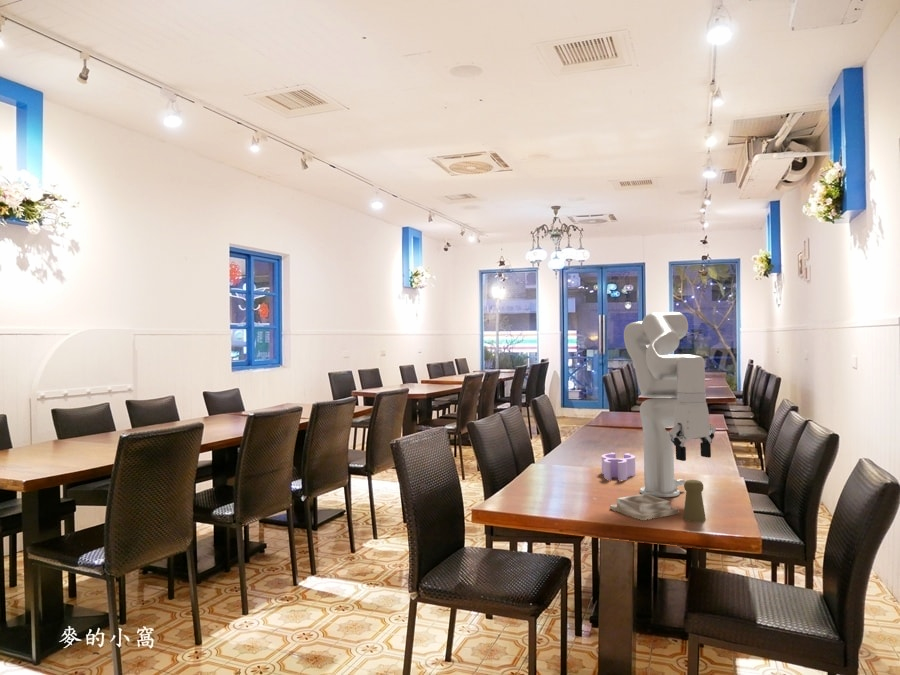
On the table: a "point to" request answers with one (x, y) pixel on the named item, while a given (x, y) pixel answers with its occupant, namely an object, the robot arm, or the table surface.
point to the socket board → (644, 507)
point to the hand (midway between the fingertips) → (693, 458)
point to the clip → (618, 466)
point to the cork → (694, 501)
